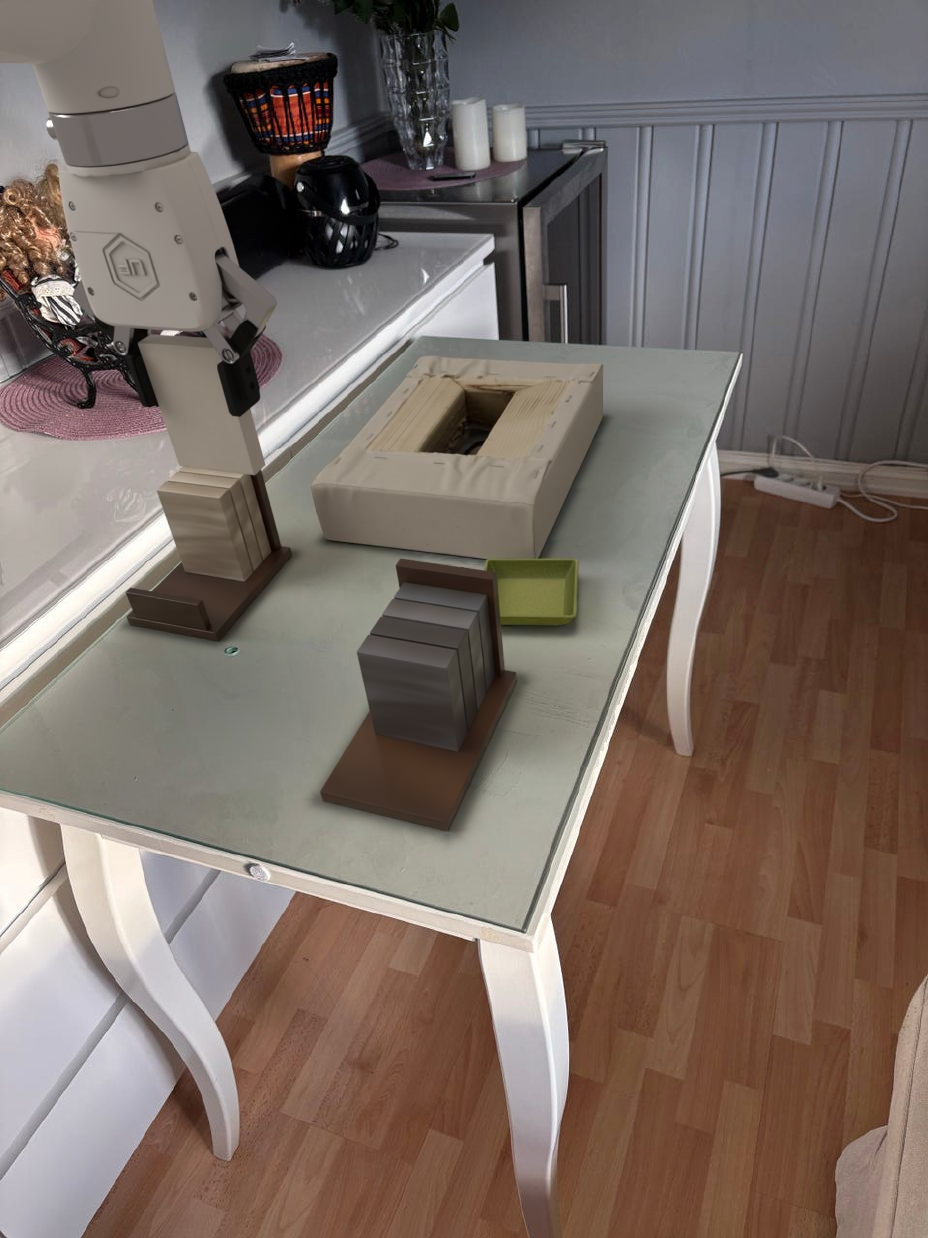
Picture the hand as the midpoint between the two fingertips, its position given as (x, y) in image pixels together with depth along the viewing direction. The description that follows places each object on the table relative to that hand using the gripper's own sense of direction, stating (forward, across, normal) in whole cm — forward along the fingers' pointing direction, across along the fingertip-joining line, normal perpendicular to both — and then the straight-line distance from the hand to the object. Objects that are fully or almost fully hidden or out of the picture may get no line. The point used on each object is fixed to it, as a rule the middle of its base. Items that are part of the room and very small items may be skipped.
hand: (201, 402), depth 67 cm
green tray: (+24, +20, +12) cm, 34 cm away
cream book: (+5, 0, 0) cm, 5 cm away
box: (+24, +7, +32) cm, 41 cm away
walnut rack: (+24, +18, -6) cm, 30 cm away
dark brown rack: (+24, -11, +6) cm, 27 cm away
